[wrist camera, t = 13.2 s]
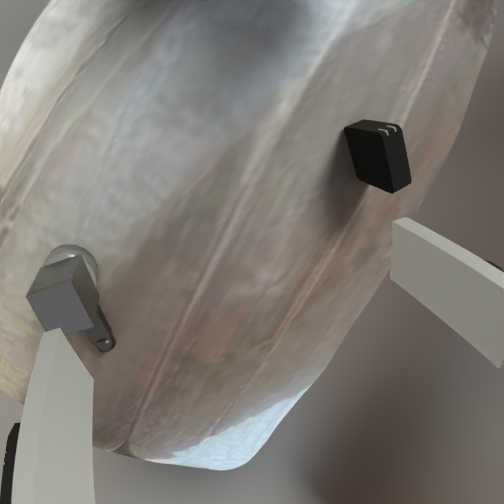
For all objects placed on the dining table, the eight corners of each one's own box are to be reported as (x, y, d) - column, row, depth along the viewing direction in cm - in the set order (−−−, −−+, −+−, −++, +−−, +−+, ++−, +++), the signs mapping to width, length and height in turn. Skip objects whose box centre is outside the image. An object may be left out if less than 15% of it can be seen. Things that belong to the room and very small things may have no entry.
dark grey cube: (60, 306, 43) (50, 339, 36) (40, 267, 39) (26, 296, 32) (99, 294, 44) (94, 326, 37) (81, 253, 41) (71, 281, 34)
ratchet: (38, 253, 42) (20, 283, 34) (86, 235, 44) (75, 263, 36) (85, 344, 51) (81, 382, 43) (129, 332, 53) (130, 370, 45)
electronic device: (357, 179, 54) (394, 195, 45) (342, 126, 49) (381, 133, 40) (374, 170, 54) (412, 184, 46) (361, 118, 49) (401, 124, 41)
